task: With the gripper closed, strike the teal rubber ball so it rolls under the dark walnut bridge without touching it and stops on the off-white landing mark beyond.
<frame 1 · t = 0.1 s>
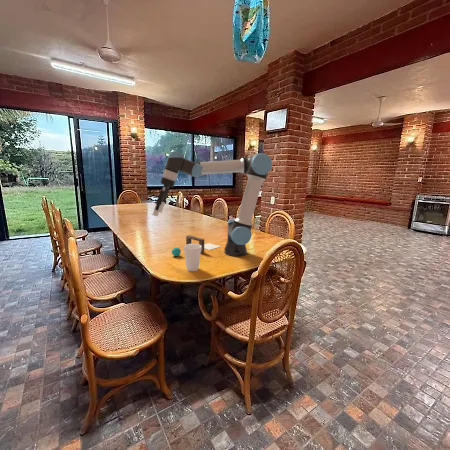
hand: (157, 213, 140), 28 cm above the table, tool tilted 20°, fingers open, 13 cm apart
bridge: (194, 250, 166), on the table
ball: (176, 251, 153), on the table
landing mark: (209, 246, 176), on the table
foam cup: (192, 269, 134), on the table
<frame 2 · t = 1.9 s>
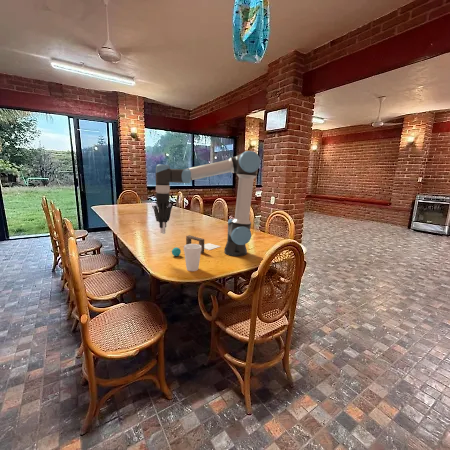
hand: (163, 233, 143), 16 cm above the table, tool pointing down, fingers closed
nothing on the table moved.
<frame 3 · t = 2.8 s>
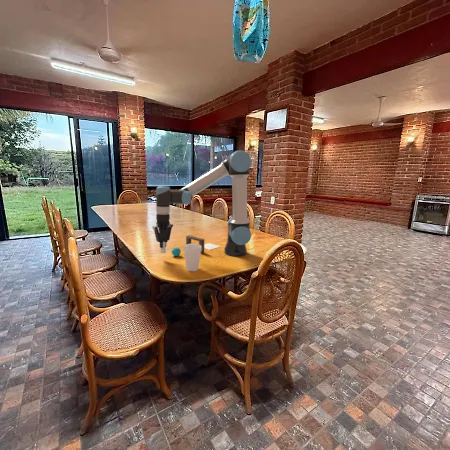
hand: (163, 252, 145), 4 cm above the table, tool pointing down, fingers closed
nothing on the table moved.
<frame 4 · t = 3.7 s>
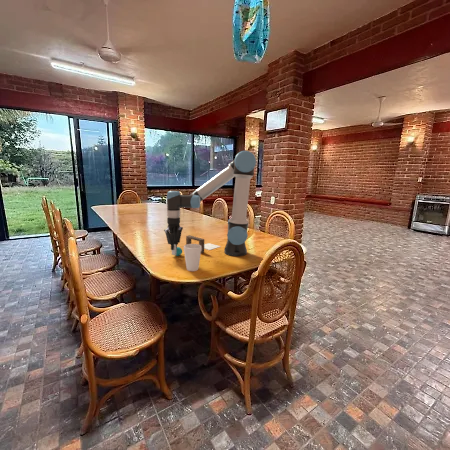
hand: (174, 254, 151), 2 cm above the table, tool pointing down, fingers closed
ball: (177, 251, 154), on the table, touching gripper
everything else where it was.
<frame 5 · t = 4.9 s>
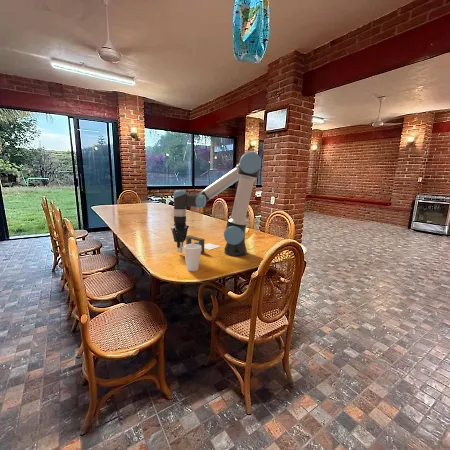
hand: (180, 252, 155), 2 cm above the table, tool pointing down, fingers closed
ball: (197, 245, 167), on the table
everything else where it was.
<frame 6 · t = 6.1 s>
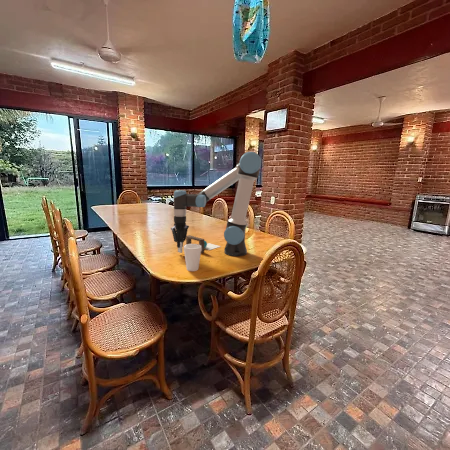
hand: (180, 252, 155), 2 cm above the table, tool pointing down, fingers closed
ball: (203, 244, 172), on the table
everything else where it was.
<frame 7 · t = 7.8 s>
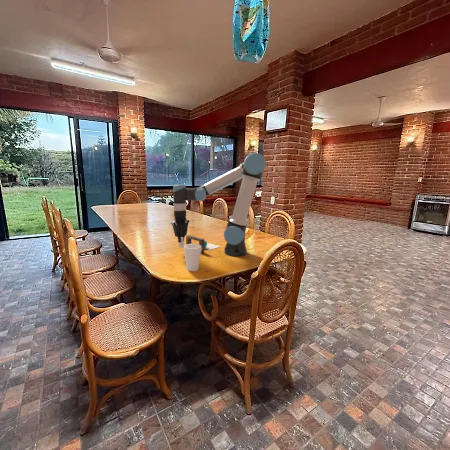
hand: (181, 246, 155), 5 cm above the table, tool pointing down, fingers closed
nothing on the table moved.
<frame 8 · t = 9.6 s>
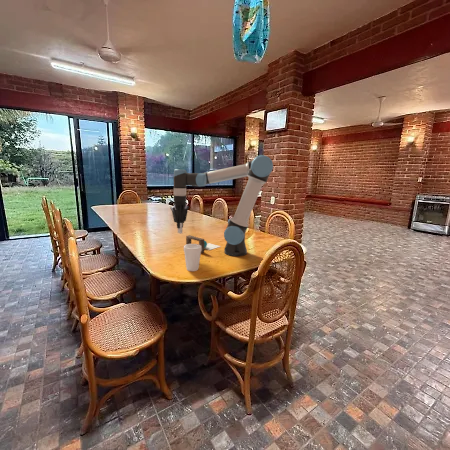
hand: (180, 233, 153), 14 cm above the table, tool pointing down, fingers closed
nothing on the table moved.
at the end: ball 5.6 cm from the landing mark (horizontally); ball never touched bridge; ball at rest at the end (0.0 cm/s) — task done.
